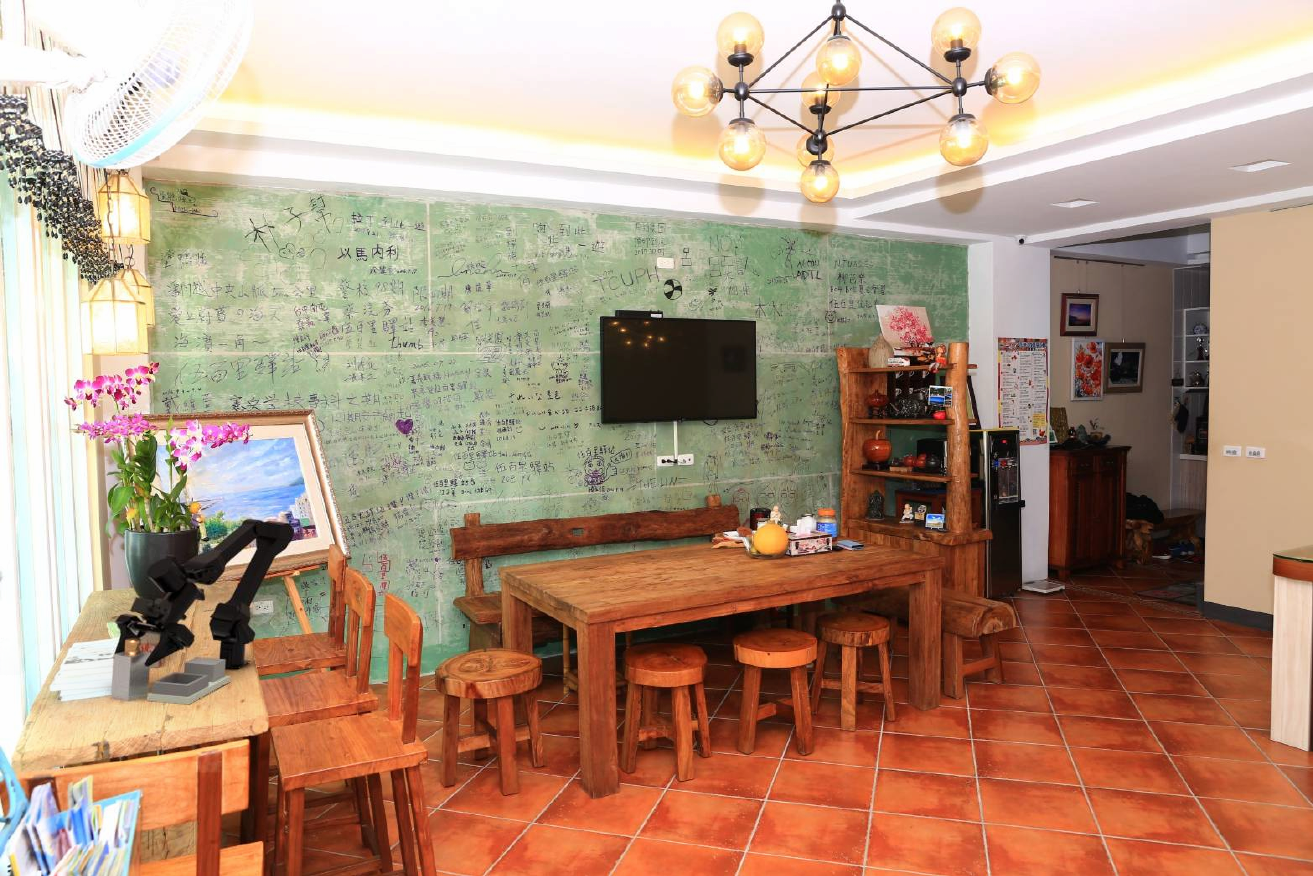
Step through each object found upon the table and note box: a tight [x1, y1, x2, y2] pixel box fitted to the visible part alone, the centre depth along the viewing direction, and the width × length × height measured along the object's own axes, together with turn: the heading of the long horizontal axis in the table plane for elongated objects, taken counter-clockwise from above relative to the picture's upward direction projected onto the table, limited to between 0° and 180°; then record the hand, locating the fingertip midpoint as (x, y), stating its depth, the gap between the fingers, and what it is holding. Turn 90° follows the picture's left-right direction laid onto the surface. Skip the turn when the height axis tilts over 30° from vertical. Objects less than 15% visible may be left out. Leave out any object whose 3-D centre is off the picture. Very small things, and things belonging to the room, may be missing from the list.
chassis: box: [146, 656, 231, 705], centre depth 203 cm, size 17×9×6 cm, turn 177°
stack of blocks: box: [140, 614, 165, 669], centre depth 227 cm, size 21×6×12 cm, turn 21°
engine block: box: [110, 638, 151, 702], centre depth 197 cm, size 5×5×12 cm
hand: (130, 662), depth 196 cm, fingers open, 9 cm apart
